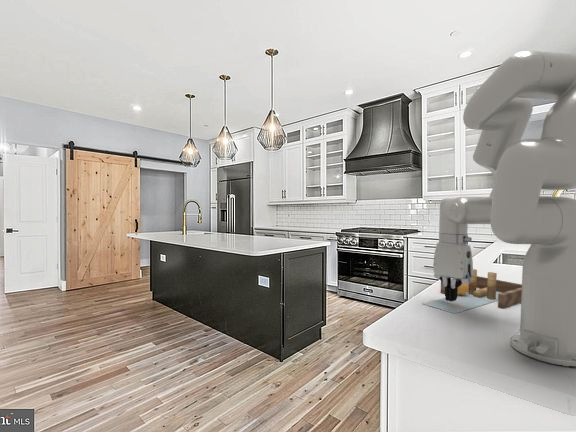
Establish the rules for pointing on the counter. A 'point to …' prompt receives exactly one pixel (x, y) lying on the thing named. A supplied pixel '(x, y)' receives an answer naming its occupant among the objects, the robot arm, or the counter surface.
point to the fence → (508, 289)
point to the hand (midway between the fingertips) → (450, 300)
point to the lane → (461, 303)
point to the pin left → (473, 282)
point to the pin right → (491, 285)
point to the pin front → (480, 292)
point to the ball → (463, 289)
